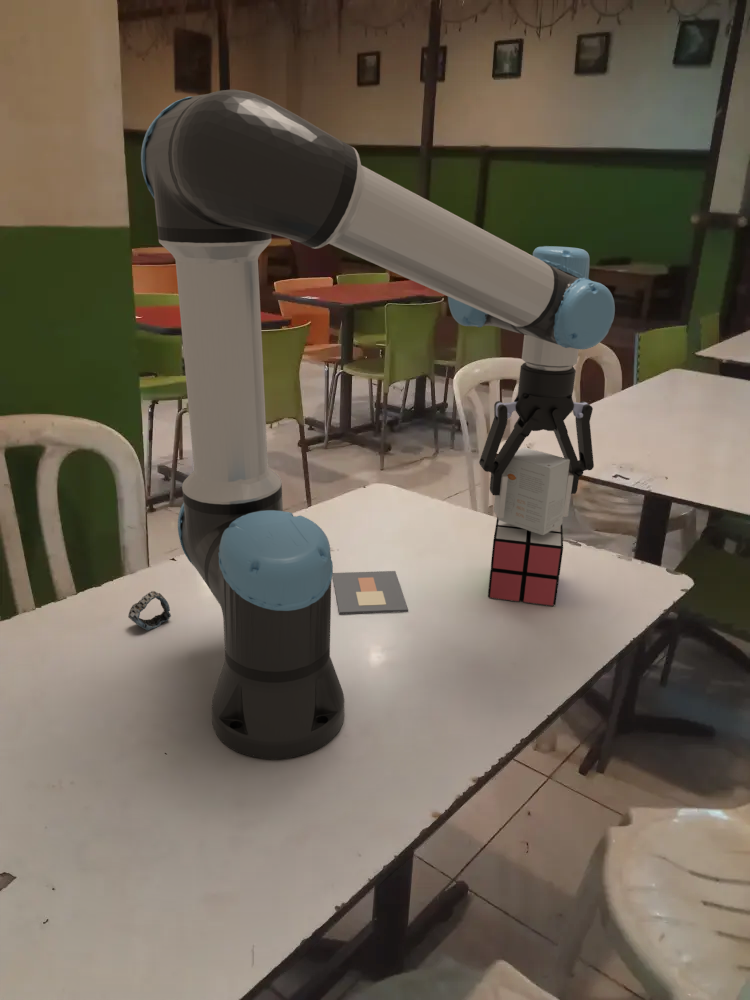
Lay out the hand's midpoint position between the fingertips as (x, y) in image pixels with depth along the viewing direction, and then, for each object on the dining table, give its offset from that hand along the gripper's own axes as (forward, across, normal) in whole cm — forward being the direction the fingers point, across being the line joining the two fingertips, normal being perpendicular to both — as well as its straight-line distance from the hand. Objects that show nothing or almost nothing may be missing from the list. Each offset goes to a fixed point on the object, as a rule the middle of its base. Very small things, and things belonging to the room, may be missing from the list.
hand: (530, 513), depth 117 cm
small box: (+2, 0, 0) cm, 2 cm away
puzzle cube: (+13, 0, 0) cm, 13 cm away
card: (+13, +24, 0) cm, 27 cm away
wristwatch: (+13, +55, +7) cm, 57 cm away
